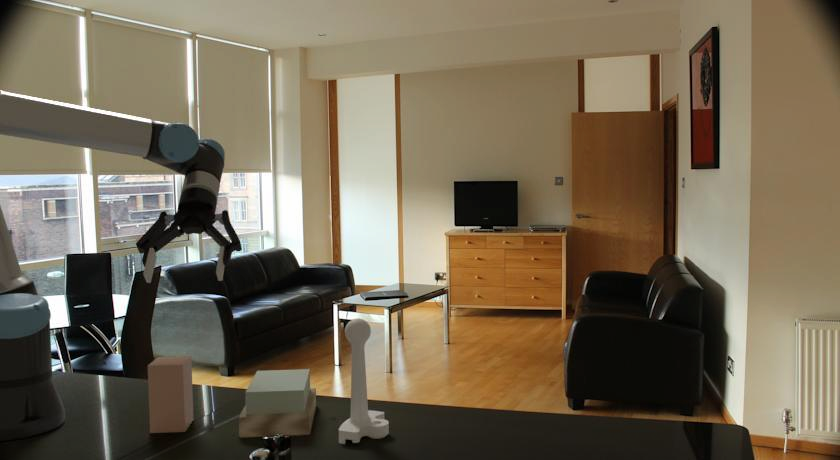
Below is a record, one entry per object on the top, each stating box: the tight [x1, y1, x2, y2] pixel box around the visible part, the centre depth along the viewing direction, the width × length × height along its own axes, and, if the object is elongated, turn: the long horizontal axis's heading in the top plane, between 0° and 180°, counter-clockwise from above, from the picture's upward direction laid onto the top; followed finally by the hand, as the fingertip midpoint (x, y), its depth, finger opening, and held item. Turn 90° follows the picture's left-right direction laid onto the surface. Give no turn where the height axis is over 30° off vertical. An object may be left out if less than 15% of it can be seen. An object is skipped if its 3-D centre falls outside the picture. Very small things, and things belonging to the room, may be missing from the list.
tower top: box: [244, 368, 311, 415], centre depth 128 cm, size 10×14×4 cm
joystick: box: [338, 318, 390, 445], centre depth 120 cm, size 11×8×20 cm
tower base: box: [238, 387, 317, 438], centre depth 128 cm, size 12×16×4 cm
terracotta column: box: [147, 355, 195, 434], centre depth 125 cm, size 6×6×12 cm
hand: (183, 277), depth 135 cm, fingers open, 13 cm apart
